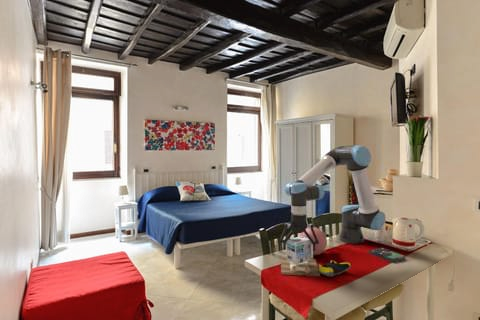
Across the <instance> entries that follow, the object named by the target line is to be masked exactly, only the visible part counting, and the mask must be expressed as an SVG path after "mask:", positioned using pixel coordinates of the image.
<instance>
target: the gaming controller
mask: <svg viewBox="0 0 480 320" xmlns="http://www.w3.org/2000/svg"><path fill="white" fill-rule="evenodd" d="M351 268H352V267H351V263H350V262H345V261H344V262H339V263H337V262H336V261H334V260H330V262H328V263H324V264H319V263H318V269H319V272H320V275H324V276H326V277H334V276H337V275H341V274H342V273H344V272H347V271H348V270H349V269H351Z"/></svg>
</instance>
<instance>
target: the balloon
mask: <svg viewBox="0 0 480 320" xmlns="http://www.w3.org/2000/svg"><path fill="white" fill-rule="evenodd" d="M313 230H314V232H315V234H316V237H317V239H318V241H319V244H316V245H315V251H313V256H318V255H320V254H323V252H324V251H325V250H326V248H327V246H328V239H327V236H326V235H327V233H325V232H324V231H323V230H321V229H320V228H317V227H315V226H313ZM306 231H307V232H308V234H309V235H310V236H311V238H312V239H313V240H314V241H315V238H314V236H313V233H312V231H311V229H310V228H309V227H307V228H306ZM300 236H303V237H305V238H308V237H307V236H306V234H305V233H304V232H302V233H300V234H299V236H298V237H300ZM308 239H309V238H308ZM311 243H312V242H311Z"/></svg>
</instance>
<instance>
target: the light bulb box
mask: <svg viewBox="0 0 480 320" xmlns="http://www.w3.org/2000/svg"><path fill="white" fill-rule="evenodd" d="M299 236H300V235H299ZM299 236H297V237H294V238H292V237H291V238H289V240H288V241H287V242H286V243H287V257H286V258H287V261H290V262H292V263H294V264H296V265H297V264H300V263H303V262H307V261H310V260H311V259H312V258H311V241H310V240H309V239H308V238H305V237H303V236H300V237H299Z"/></svg>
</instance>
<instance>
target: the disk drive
mask: <svg viewBox="0 0 480 320" xmlns="http://www.w3.org/2000/svg"><path fill="white" fill-rule="evenodd" d="M368 254H369V255H371V256H374V257H376V256H377V258H379V259H381V260H385V261H386V262H389V263H391V264H393V263H397V262H402V260H403V261H406V256H405V255H403V254H401V253H399V252H395V251H393V250H391V249H387V248H384V247H379V248H375V249H369V253H368Z"/></svg>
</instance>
